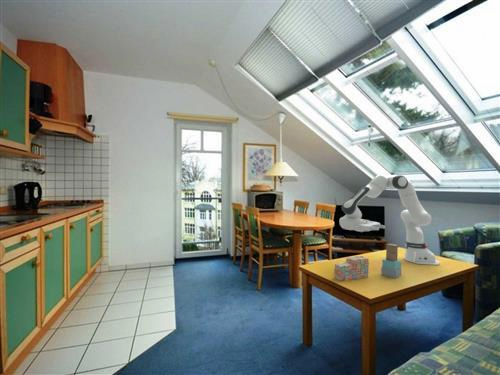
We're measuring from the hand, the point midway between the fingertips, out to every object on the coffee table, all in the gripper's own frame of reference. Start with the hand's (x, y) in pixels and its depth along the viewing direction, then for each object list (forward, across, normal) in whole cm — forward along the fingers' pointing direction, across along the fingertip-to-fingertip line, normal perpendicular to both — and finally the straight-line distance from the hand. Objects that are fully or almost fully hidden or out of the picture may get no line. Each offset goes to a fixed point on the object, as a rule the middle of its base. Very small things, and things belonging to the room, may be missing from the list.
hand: (381, 228), depth 169 cm
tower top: (+6, 0, +25) cm, 26 cm away
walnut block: (+6, 0, +20) cm, 21 cm away
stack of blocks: (-8, -24, +30) cm, 40 cm away
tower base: (+6, 0, +30) cm, 31 cm away
